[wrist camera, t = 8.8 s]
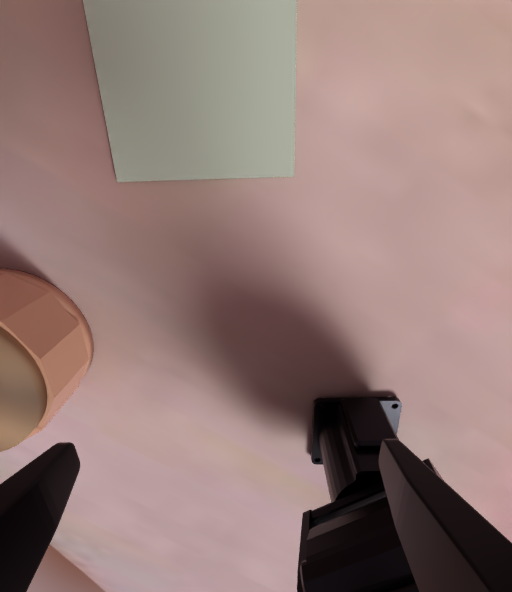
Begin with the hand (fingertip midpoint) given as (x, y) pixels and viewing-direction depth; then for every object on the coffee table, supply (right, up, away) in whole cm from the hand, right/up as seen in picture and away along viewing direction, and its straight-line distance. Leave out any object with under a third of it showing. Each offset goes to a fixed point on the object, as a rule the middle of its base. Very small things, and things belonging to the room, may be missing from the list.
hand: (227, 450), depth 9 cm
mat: (-2, +16, +7) cm, 17 cm away
